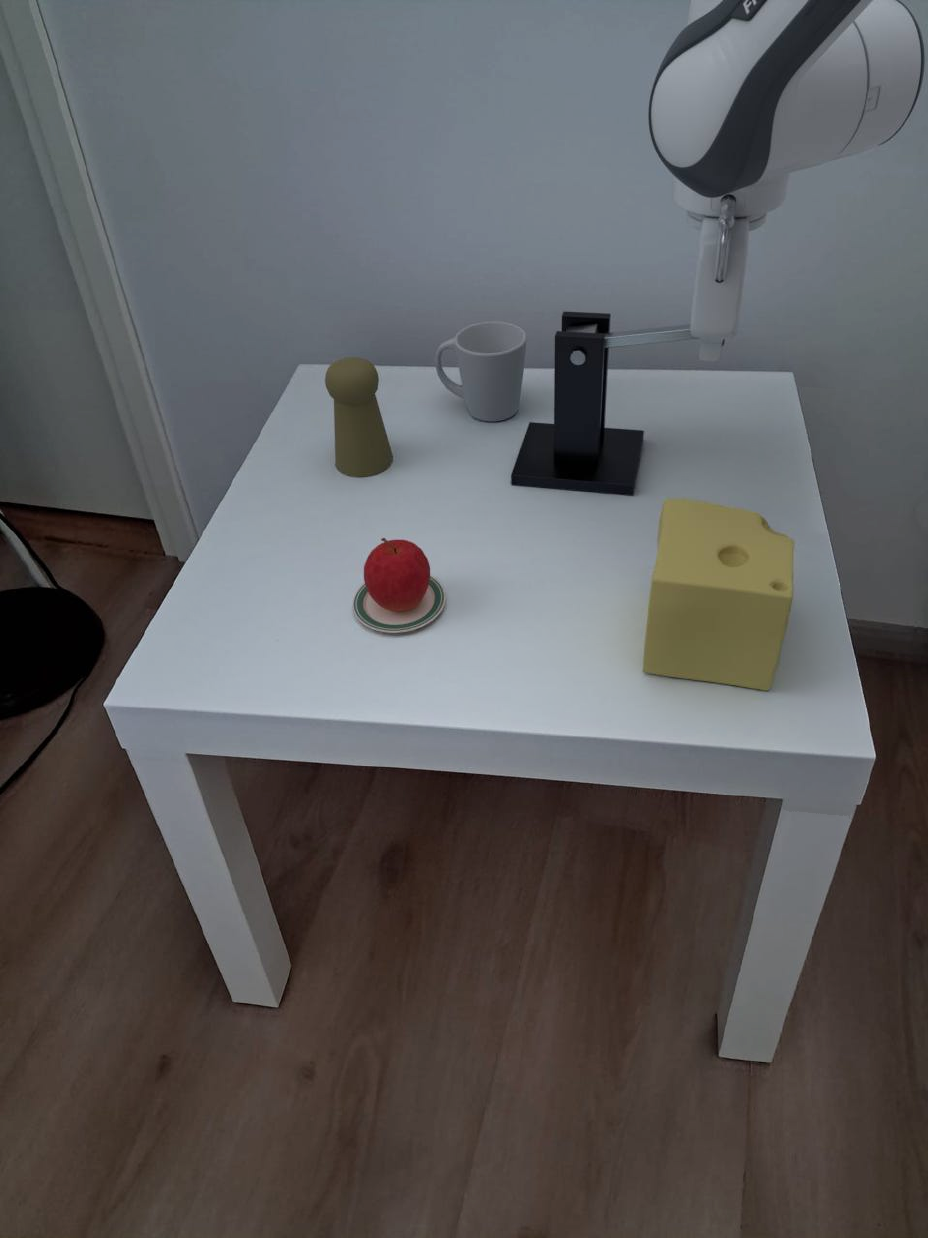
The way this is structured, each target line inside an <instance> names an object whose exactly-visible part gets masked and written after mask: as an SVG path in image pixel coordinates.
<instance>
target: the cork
mask: <svg viewBox="0 0 928 1238" xmlns="http://www.w3.org/2000/svg"><path fill="white" fill-rule="evenodd" d="M379 382H380V379H379V372H378V370H377V368H376V366H375V365H374V364H373V363H372V362H371V361H370V360H368V359H366V358H362V357H357V356H349V357H344V358H340V359H338V360H336V361H334V362H333V363H331V364H330V365H329V366H328V368H327V369H326V371H325V377H324V383H325V388H326V390H327V392H328V394H329V396H330V397H331V398H332V399H333V421H334V422H333V425H334V427H333V428H334V460H335V461H334V463H335V464H334V465H335V467H336V470H337V471H339V472H340V473H341V474H343V475H345V476H349V477H353V478H366V477H371V476H376V475H379V474H380V473H383V472H384V471H386V470H387V469H389V468H390V467H391V465H392V463H393V462H394V455H393V451H392V447H391V445H390V441H389V437H388V433H387V429H386V427H385V423H384V420H383V419H384V418H383V416H382V413H381V409H380V406H379V402H378V400H377V396H376V393H377V391H378V389H379Z"/></svg>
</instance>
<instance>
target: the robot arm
mask: <svg viewBox="0 0 928 1238" xmlns="http://www.w3.org/2000/svg"><path fill="white" fill-rule="evenodd" d="M686 23H687V24H686V27H685V28H683V29H682V30H681V31H680V32H679V33H678V34H677V36H676V38H675V39H674V41H673V42H672V44H671V45H670V47H669V49H668V50H667V52H666V53H665V55H664V58H663V59H662V61H661V64H660V66H659V68H658V70H657V73H656V75H655V77H654V82H653V84H652V88H651V91H650V96H649V102H648V115H647V116H648V129H649V136H650V139H651V141H652V146H653V148H654V150H655V152H656V154H657V155H658V157H659V159H660V161H661V162H662V163H663V165H664V166H665V167H666V169H667V170H668V171H669V172H670V173H671V174H672V176H673V186H672V201H673V203H674V205H676V206H677V207H678V208H680V209H681V210H684V211H686V215H685V216H686V217H685V218H686V219H685V220H686V222H687V224H689V226H691V227H692V228H694V229H695V230H698V231H700V232H699V233H700V234H699V240H698V247H697V255H696V264H695V272H694V273H695V274H694V283H693V293H692V302H691V310H690V312H691V313H690V322H689V324H690V331H691V335H692V336H693V337H696V338H700V339H699V340H700V344H699V352H698V358H699V360H700V361H702V362H712V363H716V362H718V361H720V360H721V356H722V350H723V347H722V343H723V339H725V340H730V339H733V338H735V336H736V334H737V332H738V328H739V324H740V318H741V317H740V316H741V309H742V303H743V302H742V301H743V295H744V287H745V279H746V272H747V263H748V256H749V255H748V254H749V244H750V243H749V240H750V232H752V231H755V230H758V229H759V228H761V227H763V225H764V224H765V223H766V222H767V217H768V213H771V212H772V211H775V210H776V209H778V208H781V206H782V205H784V203H785V202H786V198H787V192H788V186H789V180H790V174H792V173H795V172H798V171H803V170H806V169H810V168H814V167H817V166H821V165H823V164H827V163H829V162H833V161H836V160H841V159H844V158H848V157H852V156H854V155H855V156H856V155H858V154H862V153H864V152H867V151H869V150H872V149H873V148H875V147H878V146H881V145H884V144H886V143H887V142H889V141H890V140H891V139H893V138H894V137H895V136H896V135H897V134H898V133H899V132H900V131H901V129H902V128H903V126H904V125H905V124H906V122H907V121H908V119H909V118H910V116H911V114H912V113H913V110H914V108H915V106H916V103H917V101H918V98H919V96H920V94H921V89H922V85H923V81H924V75H925V65H926V60H925V59H926V57H925V56H926V53H925V52H926V51H925V44H924V38H923V35H922V31H921V28H920V26H919V24H918V21H917V20H916V18H915V16H914V15H913V12H912V11H911V10H910V9H909V8H908V6H906V5H905V3H903V2H902V1H901V0H690V4H689V11H688V17H687V22H686Z"/></svg>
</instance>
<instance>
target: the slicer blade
mask: <svg viewBox="0 0 928 1238" xmlns="http://www.w3.org/2000/svg"><path fill="white" fill-rule="evenodd" d="M566 332H585V333H599V331H598V324H592V325H582V326H573V327H568V328H567V331H566ZM603 334H605V348H609V349H610V348H618V347H628V346H641V345H650V344H659V343H669V342H680V341H689V340H690V341H691V340H700V338H696V337H693V336H692V335H691V331H690V323H689V324H679V325H671V326H660V327H650V328H642V329H632V330H623V331H622V330H621V331H612V332H611V331H610V333H603ZM725 342H726V339H723V343H722V348H723V347H724V345H725Z"/></svg>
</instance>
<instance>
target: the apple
mask: <svg viewBox="0 0 928 1238" xmlns="http://www.w3.org/2000/svg"><path fill="white" fill-rule="evenodd" d="M380 541H381V543H380V544H378V545H377V546H376V547H374V548H373V549H372V550H371V551H370V552H369V554H368V556H367V558H366V560H365V562H364V564H363V583H362V584H361V585H360V586H359V587H358V589H357V590H356V592H355V593H354V596H353V599H352V610H353V613H354V616H355V617H356V619H357V620H358V621H359V622H360V623H361V624H363V625H364V626H365V627H367V628H369V629H371V630H374V631H376V632H377V631H378V632H382V633H387V634H388V633H389V634H395V633H396V634H398V633H399V634H400V633H407V632H411V631H415V630H417V629H421V628H422V627H425V626H427V625H428V624H430V623H432V622H433V621H434V620H436V619H437V617H438V616H439V615H440V614H441V613H442V611H443V609H444V607H445V605H446V598H447V597H446V591H445V588H444V586H443V584H442V583H441V582H440V581H439V580H438V579H437V578H435V577H434V576H432V575H431V565H430V562H429V559H428V557H427V556H426V554H425V553H424V551H423V550H422V548H421V547H419V546H418V545H417V544H416V543H415V542H412V541H409V540H407V539H389V540H387V539H386V537H382V538H380Z"/></svg>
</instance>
